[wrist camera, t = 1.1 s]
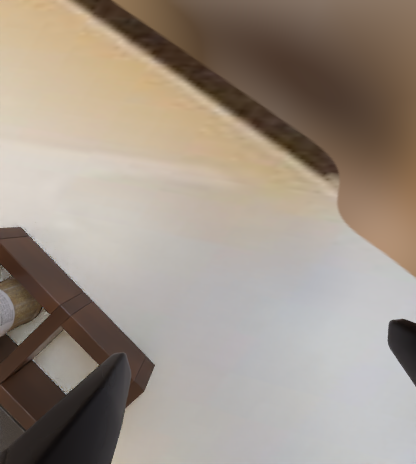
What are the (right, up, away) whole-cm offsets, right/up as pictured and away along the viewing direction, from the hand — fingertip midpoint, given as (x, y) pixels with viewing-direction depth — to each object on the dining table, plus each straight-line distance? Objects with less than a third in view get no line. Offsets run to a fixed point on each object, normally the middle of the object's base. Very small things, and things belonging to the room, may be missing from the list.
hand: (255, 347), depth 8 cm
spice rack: (-16, -5, +15) cm, 23 cm away
